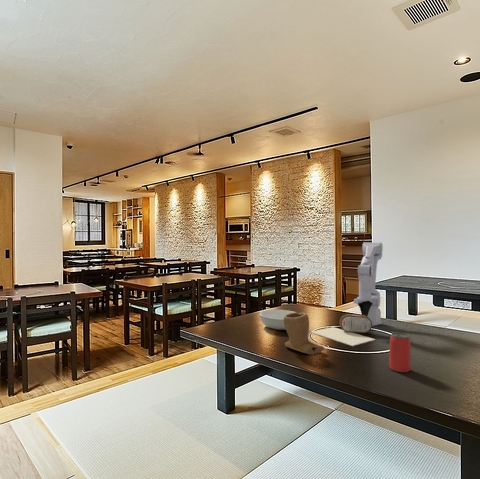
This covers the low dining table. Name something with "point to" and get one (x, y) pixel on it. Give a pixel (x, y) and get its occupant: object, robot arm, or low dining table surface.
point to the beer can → (399, 352)
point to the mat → (342, 336)
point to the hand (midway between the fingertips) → (364, 316)
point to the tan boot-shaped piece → (299, 333)
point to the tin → (355, 323)
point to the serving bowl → (274, 318)
